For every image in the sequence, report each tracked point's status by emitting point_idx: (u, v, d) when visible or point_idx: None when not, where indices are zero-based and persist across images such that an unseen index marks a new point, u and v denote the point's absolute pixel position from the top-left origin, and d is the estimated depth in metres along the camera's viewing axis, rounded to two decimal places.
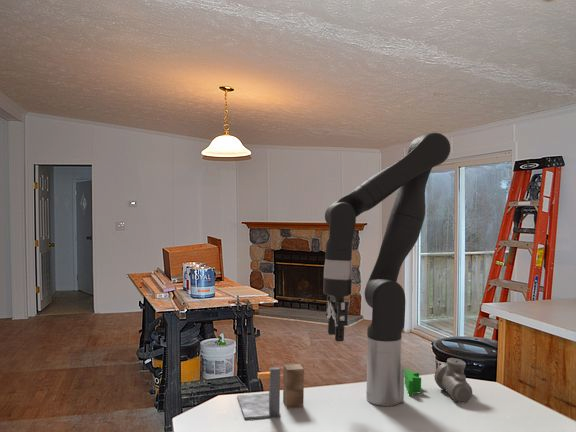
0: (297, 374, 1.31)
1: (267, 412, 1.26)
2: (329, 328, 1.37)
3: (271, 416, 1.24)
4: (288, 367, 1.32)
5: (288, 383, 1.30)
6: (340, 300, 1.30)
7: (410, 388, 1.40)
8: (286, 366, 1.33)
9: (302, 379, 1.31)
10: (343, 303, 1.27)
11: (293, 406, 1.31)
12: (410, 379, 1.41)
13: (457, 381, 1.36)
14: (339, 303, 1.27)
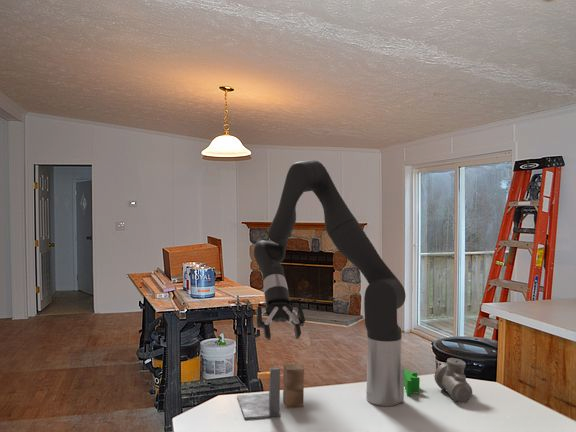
0: (297, 374, 1.31)
1: (267, 412, 1.26)
2: (295, 334, 1.47)
3: (271, 416, 1.24)
4: (288, 367, 1.32)
5: (288, 383, 1.30)
6: None
7: (408, 388, 1.40)
8: (286, 366, 1.33)
9: (302, 379, 1.31)
10: (257, 309, 1.50)
11: (293, 406, 1.31)
12: (408, 379, 1.41)
13: (457, 381, 1.36)
14: (256, 311, 1.51)
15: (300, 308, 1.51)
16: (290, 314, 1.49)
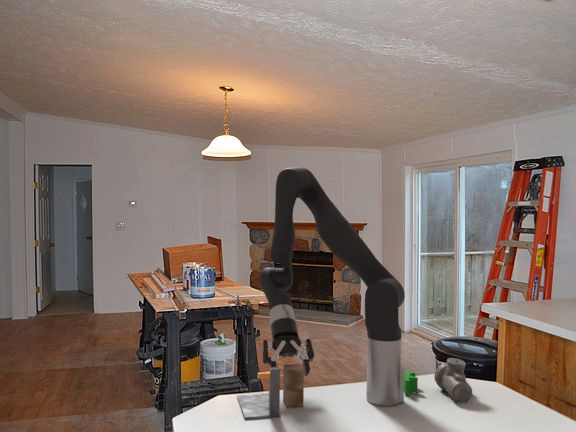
0: (297, 374, 1.31)
1: (267, 412, 1.26)
2: None
3: (271, 416, 1.24)
4: (288, 367, 1.32)
5: (288, 383, 1.30)
6: (273, 341, 1.41)
7: (406, 388, 1.40)
8: (286, 366, 1.33)
9: (302, 379, 1.31)
10: (263, 343, 1.40)
11: (293, 406, 1.31)
12: (406, 379, 1.41)
13: (457, 381, 1.36)
14: (262, 345, 1.41)
15: (309, 342, 1.42)
16: (298, 349, 1.39)
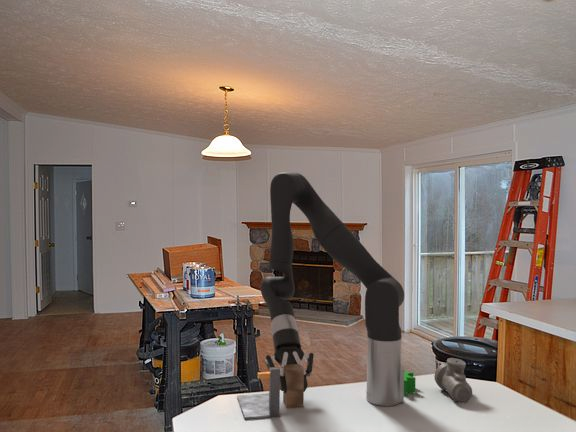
0: (297, 374, 1.31)
1: (267, 412, 1.26)
2: None
3: (271, 416, 1.24)
4: (288, 367, 1.32)
5: (288, 383, 1.30)
6: None
7: (404, 388, 1.40)
8: (286, 366, 1.33)
9: (302, 379, 1.31)
10: None
11: (293, 406, 1.31)
12: (404, 379, 1.41)
13: (457, 381, 1.36)
14: (265, 360, 1.37)
15: (311, 356, 1.38)
16: (298, 362, 1.36)
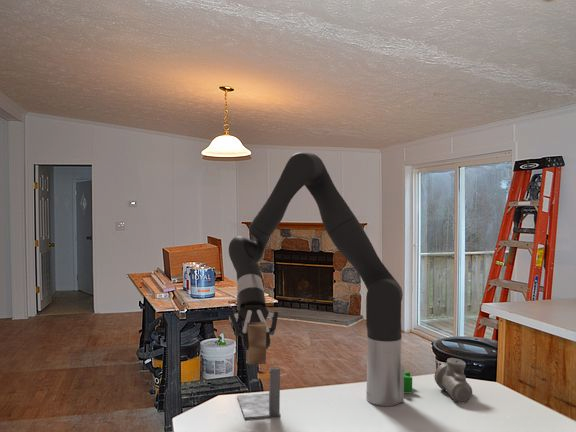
0: (260, 331, 1.30)
1: (267, 412, 1.26)
2: None
3: (271, 416, 1.24)
4: (250, 324, 1.31)
5: (250, 339, 1.29)
6: None
7: None
8: (249, 323, 1.32)
9: (264, 336, 1.30)
10: (229, 316, 1.35)
11: (255, 363, 1.29)
12: None
13: (457, 381, 1.36)
14: None
15: (276, 315, 1.37)
16: (262, 319, 1.34)
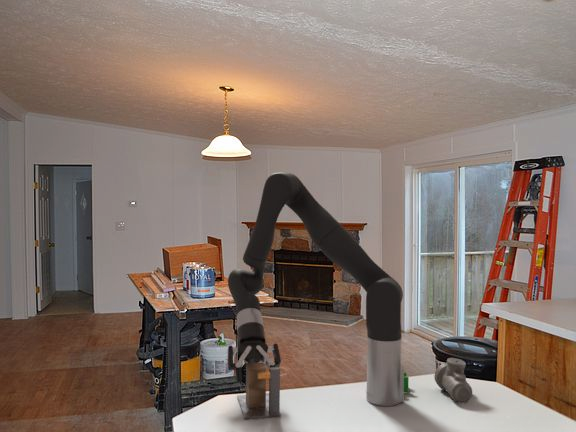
0: None
1: (267, 412, 1.26)
2: None
3: (271, 416, 1.24)
4: (250, 366, 1.31)
5: (250, 382, 1.29)
6: None
7: None
8: (248, 365, 1.32)
9: (264, 378, 1.30)
10: None
11: (255, 405, 1.29)
12: None
13: (457, 381, 1.36)
14: None
15: (276, 347, 1.37)
16: (264, 354, 1.35)
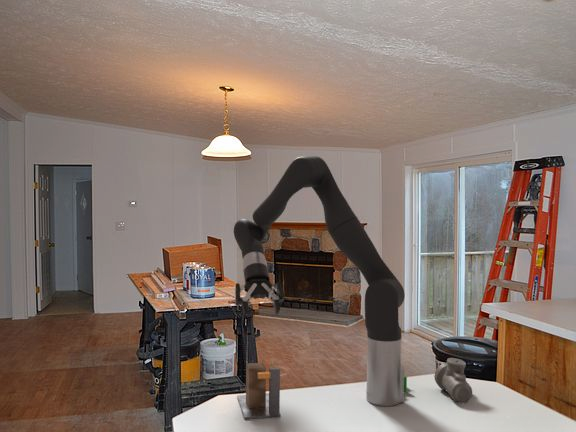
0: None
1: (267, 412, 1.26)
2: None
3: (271, 416, 1.24)
4: (250, 366, 1.31)
5: (250, 382, 1.29)
6: None
7: None
8: (248, 365, 1.32)
9: (264, 378, 1.30)
10: None
11: (255, 405, 1.29)
12: None
13: (457, 381, 1.36)
14: None
15: (279, 284, 1.50)
16: (269, 290, 1.47)
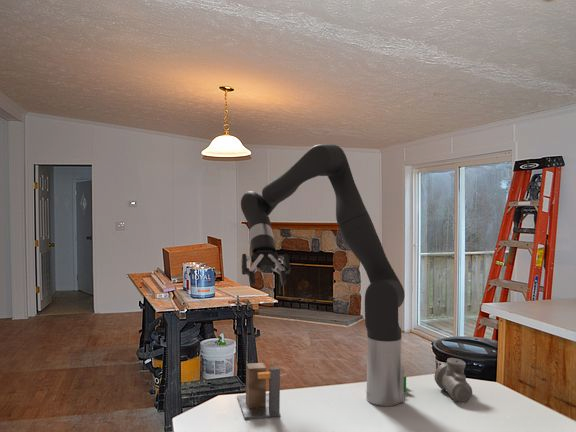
0: None
1: (267, 412, 1.26)
2: None
3: (271, 416, 1.24)
4: (250, 366, 1.31)
5: (250, 382, 1.29)
6: None
7: None
8: (248, 365, 1.32)
9: (264, 378, 1.30)
10: None
11: (255, 405, 1.29)
12: None
13: (457, 381, 1.36)
14: None
15: (286, 256, 1.49)
16: (275, 261, 1.46)
